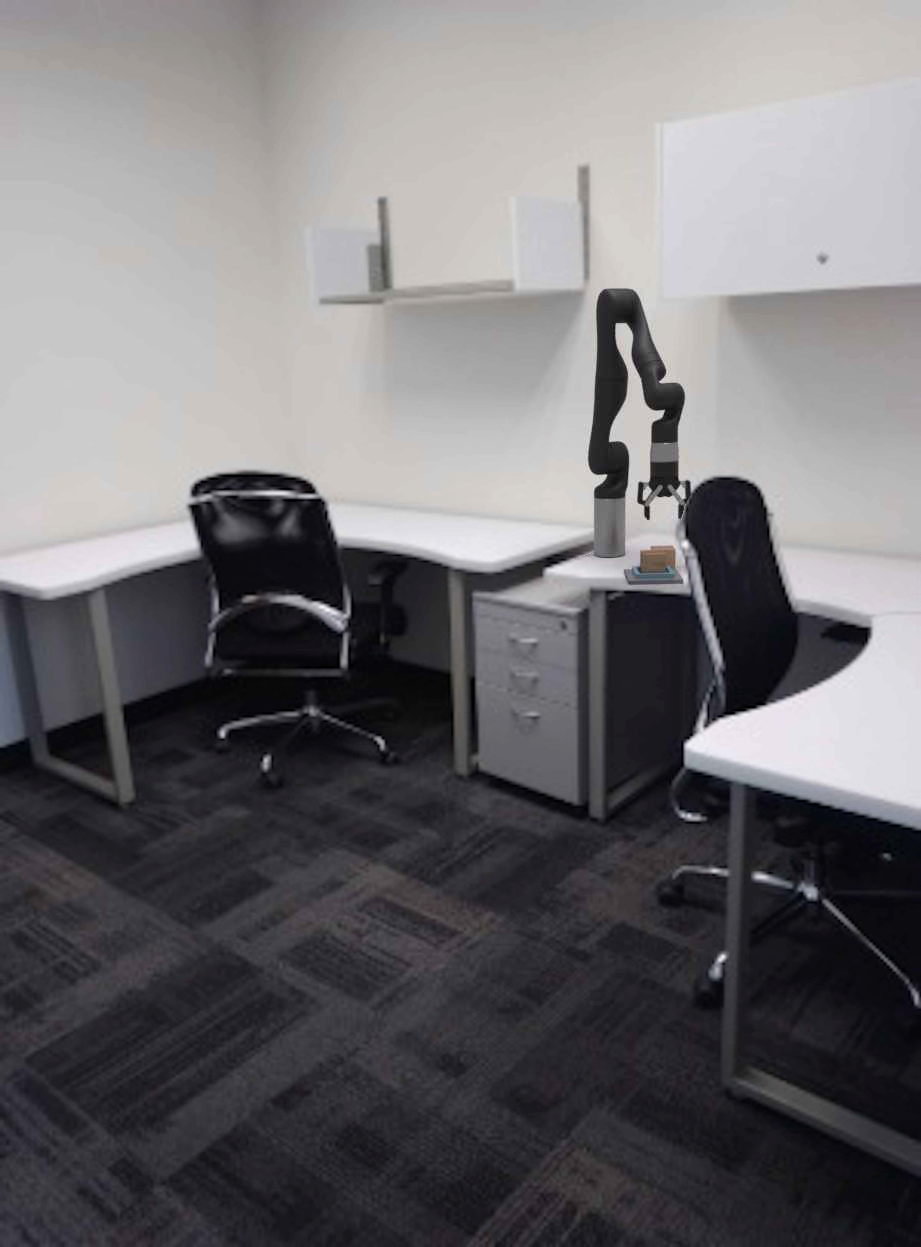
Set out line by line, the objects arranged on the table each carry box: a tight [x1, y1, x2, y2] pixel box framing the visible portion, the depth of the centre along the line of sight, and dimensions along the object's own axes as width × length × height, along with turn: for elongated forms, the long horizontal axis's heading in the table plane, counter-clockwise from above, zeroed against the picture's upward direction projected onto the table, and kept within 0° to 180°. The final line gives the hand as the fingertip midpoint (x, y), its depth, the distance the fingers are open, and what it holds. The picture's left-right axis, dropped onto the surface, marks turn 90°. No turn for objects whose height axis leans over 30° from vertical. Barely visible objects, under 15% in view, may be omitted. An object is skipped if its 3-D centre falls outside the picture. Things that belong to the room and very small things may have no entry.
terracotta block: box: [650, 545, 676, 568], centre depth 268 cm, size 6×6×6 cm
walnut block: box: [639, 549, 666, 573], centre depth 258 cm, size 6×6×6 cm
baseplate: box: [623, 565, 684, 585], centre depth 259 cm, size 14×14×2 cm
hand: (663, 519), depth 265 cm, fingers open, 8 cm apart
